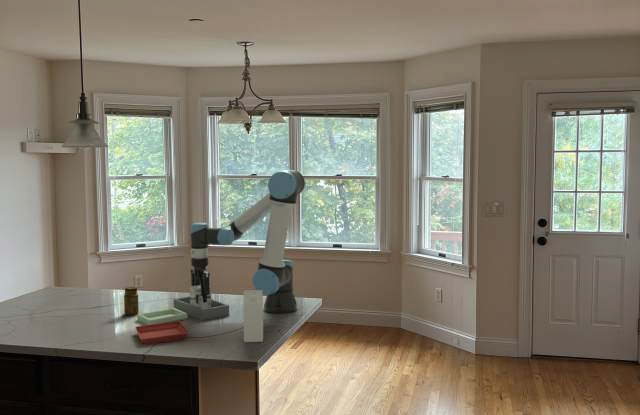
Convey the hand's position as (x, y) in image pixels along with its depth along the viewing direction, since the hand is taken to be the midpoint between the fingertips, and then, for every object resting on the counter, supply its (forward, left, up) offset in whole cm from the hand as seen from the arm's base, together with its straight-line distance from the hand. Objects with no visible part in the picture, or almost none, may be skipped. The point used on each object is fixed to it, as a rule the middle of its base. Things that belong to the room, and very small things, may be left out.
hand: (200, 307), depth 269 cm
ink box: (0, 0, -2) cm, 2 cm away
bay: (0, 0, -2) cm, 2 cm away
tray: (-1, +19, -2) cm, 19 cm away
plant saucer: (-24, +30, -2) cm, 38 cm away
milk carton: (-51, +5, -2) cm, 51 cm away
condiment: (+16, +26, -2) cm, 31 cm away
